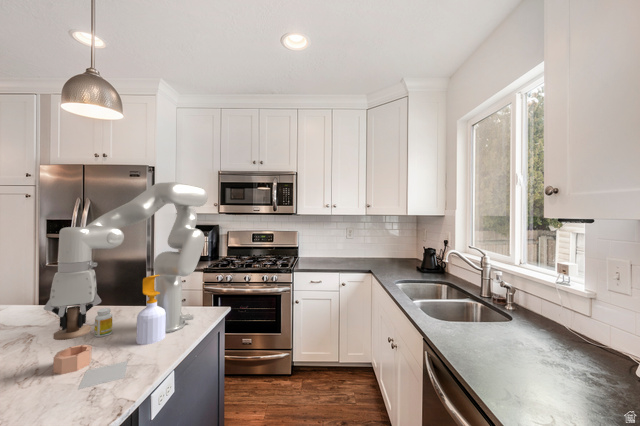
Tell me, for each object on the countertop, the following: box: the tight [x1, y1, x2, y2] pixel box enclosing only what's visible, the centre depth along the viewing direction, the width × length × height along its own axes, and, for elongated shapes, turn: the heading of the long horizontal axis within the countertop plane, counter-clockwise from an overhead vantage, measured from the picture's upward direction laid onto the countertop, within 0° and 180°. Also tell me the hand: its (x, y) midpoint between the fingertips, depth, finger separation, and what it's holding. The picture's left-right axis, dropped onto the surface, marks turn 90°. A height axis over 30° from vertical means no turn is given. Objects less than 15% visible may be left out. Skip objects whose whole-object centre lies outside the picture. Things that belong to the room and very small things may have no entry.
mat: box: [77, 360, 129, 390], centre depth 77 cm, size 10×10×1 cm
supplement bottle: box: [93, 307, 113, 338], centre depth 104 cm, size 5×5×10 cm
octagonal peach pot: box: [52, 344, 93, 375], centre depth 81 cm, size 8×8×5 cm
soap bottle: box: [136, 275, 166, 346], centre depth 99 cm, size 9×9×25 cm
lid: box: [52, 305, 92, 341], centre depth 81 cm, size 8×8×8 cm
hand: (73, 326), depth 81 cm, fingers closed on lid, 3 cm apart
